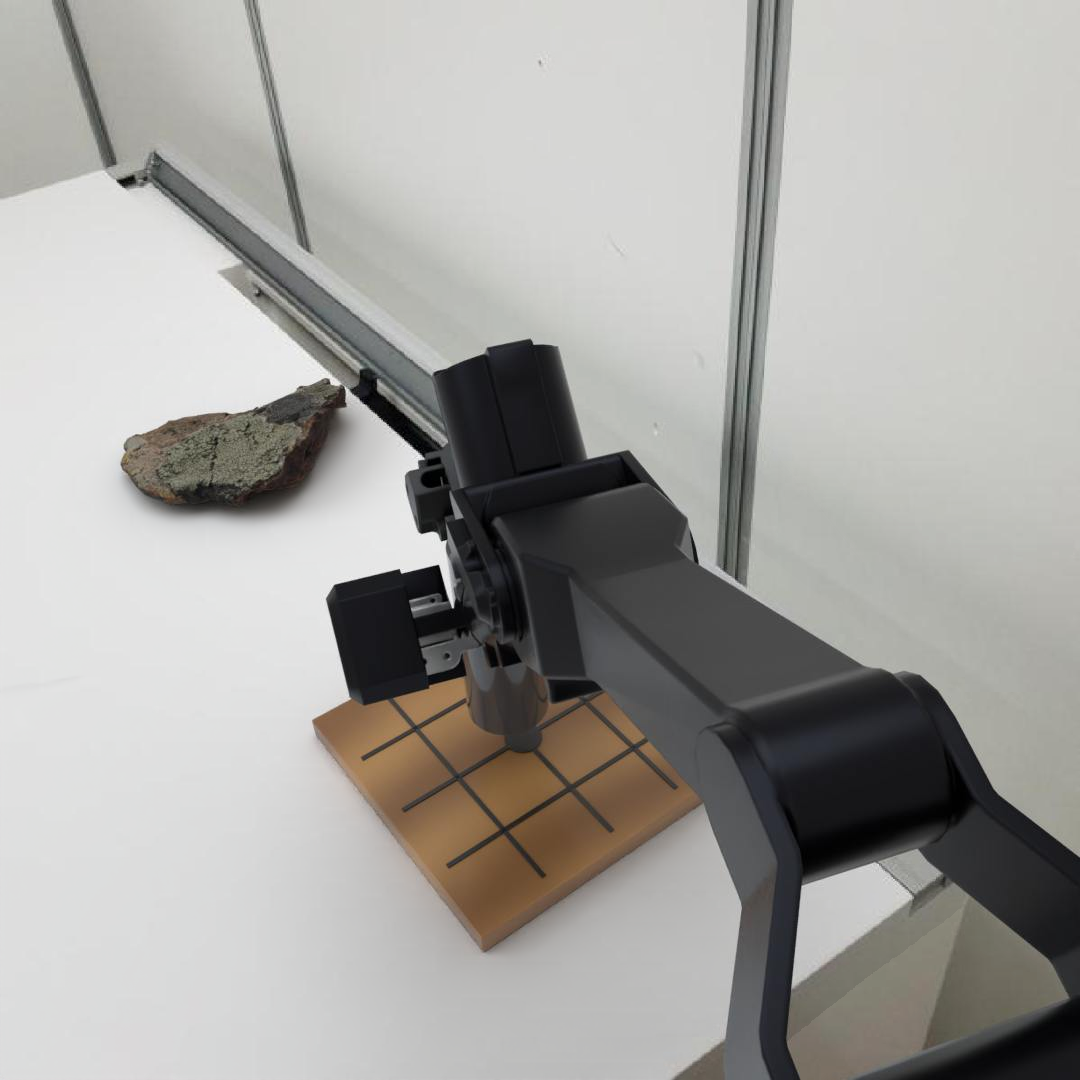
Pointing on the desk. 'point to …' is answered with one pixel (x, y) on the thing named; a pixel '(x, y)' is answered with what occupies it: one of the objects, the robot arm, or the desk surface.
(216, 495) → the rock
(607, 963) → the desk surface
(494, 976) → the desk surface
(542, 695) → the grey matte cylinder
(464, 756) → the board
